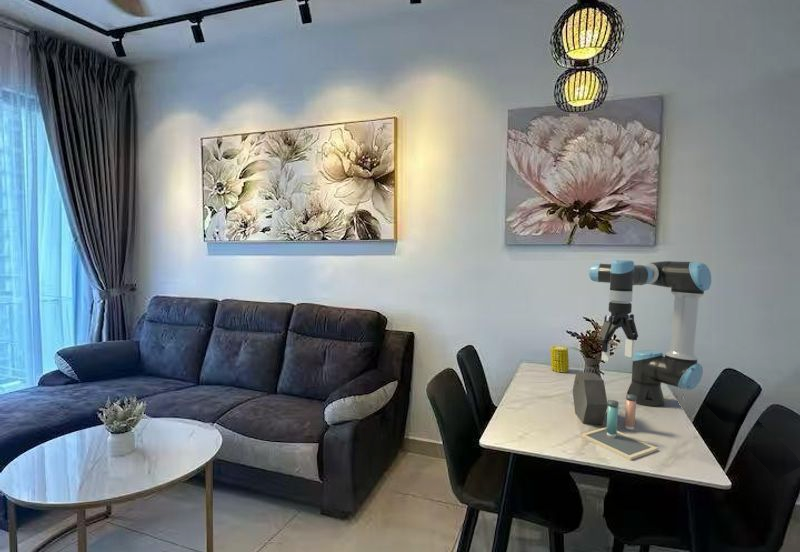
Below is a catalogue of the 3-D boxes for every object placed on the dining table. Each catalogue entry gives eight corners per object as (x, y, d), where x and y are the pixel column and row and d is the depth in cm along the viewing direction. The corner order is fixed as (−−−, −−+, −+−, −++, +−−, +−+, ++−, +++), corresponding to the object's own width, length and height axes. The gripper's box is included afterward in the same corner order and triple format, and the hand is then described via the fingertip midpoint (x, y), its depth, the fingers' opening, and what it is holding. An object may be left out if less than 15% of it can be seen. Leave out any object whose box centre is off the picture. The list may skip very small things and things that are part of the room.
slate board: (607, 428, 164) (607, 426, 164) (657, 450, 147) (658, 447, 147) (580, 436, 156) (580, 434, 156) (630, 460, 139) (630, 457, 139)
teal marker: (610, 433, 158) (611, 399, 157) (618, 437, 155) (620, 402, 154) (603, 435, 157) (605, 400, 156) (612, 439, 154) (614, 404, 153)
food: (571, 375, 239) (555, 376, 237) (559, 364, 250) (544, 366, 247) (575, 350, 234) (559, 352, 232) (563, 341, 245) (547, 342, 243)
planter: (610, 420, 160) (601, 366, 171) (588, 418, 161) (581, 365, 171) (596, 428, 175) (589, 378, 185) (576, 426, 176) (570, 377, 186)
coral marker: (628, 426, 167) (629, 393, 166) (636, 429, 164) (638, 396, 163) (622, 427, 165) (624, 395, 164) (631, 431, 162) (633, 398, 161)
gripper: (631, 299, 166) (628, 352, 167) (589, 302, 154) (586, 359, 155) (650, 301, 159) (647, 357, 160) (607, 304, 147) (604, 364, 148)
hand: (617, 358), depth 158 cm, fingers open, 13 cm apart
